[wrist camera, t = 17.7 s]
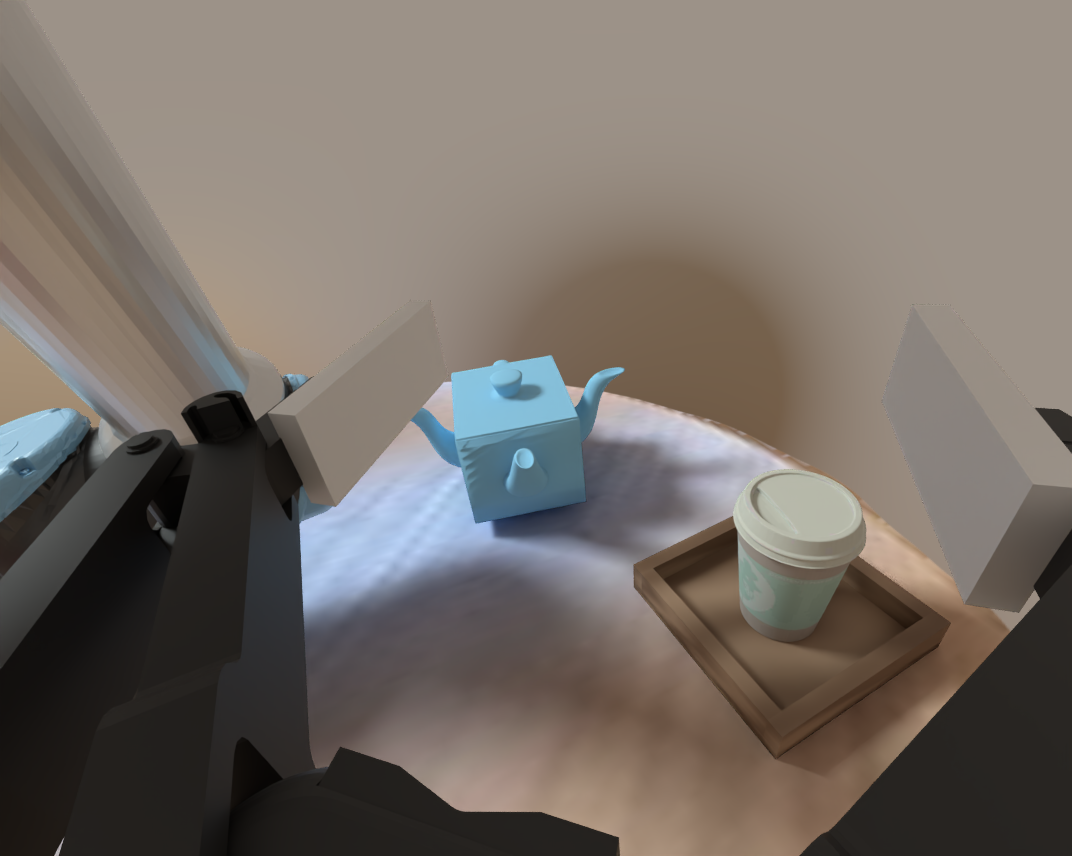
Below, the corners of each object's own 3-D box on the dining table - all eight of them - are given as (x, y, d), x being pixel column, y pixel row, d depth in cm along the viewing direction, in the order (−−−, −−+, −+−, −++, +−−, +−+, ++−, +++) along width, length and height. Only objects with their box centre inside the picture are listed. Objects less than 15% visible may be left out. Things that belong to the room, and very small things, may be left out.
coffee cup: (727, 561, 47) (740, 457, 41) (833, 583, 44) (865, 473, 38) (716, 641, 41) (730, 533, 34) (839, 673, 38) (880, 560, 31)
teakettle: (510, 426, 72) (493, 327, 64) (633, 464, 62) (631, 352, 54) (411, 510, 60) (374, 401, 51) (544, 574, 50) (524, 452, 41)
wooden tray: (633, 586, 47) (633, 564, 46) (770, 518, 52) (774, 495, 50) (775, 759, 35) (782, 737, 33) (937, 646, 39) (950, 622, 38)
